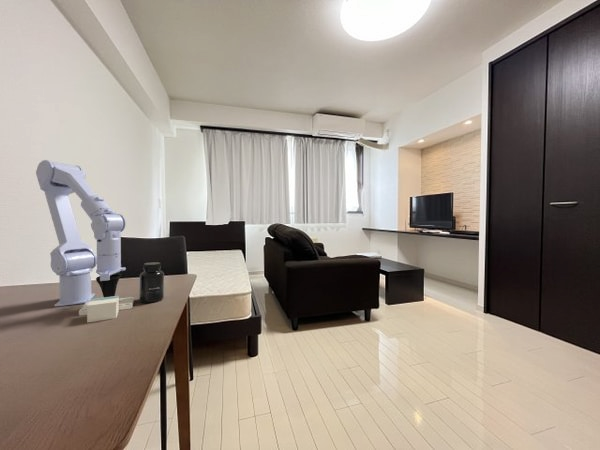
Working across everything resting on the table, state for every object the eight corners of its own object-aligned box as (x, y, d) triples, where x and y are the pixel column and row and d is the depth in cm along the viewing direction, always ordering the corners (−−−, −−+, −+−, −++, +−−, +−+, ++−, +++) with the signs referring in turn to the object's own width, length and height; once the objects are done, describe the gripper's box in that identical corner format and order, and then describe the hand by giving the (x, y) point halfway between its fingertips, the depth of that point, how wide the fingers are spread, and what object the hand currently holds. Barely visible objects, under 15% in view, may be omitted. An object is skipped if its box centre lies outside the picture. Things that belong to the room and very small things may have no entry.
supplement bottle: (152, 304, 78) (152, 265, 78) (134, 302, 79) (133, 264, 79) (168, 297, 85) (168, 262, 84) (151, 296, 86) (151, 261, 86)
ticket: (86, 306, 75) (86, 302, 75) (134, 300, 81) (134, 296, 81) (78, 315, 68) (78, 310, 68) (131, 308, 74) (131, 304, 74)
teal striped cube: (91, 315, 69) (91, 298, 69) (118, 311, 72) (118, 295, 72) (87, 323, 64) (87, 305, 64) (116, 318, 67) (116, 301, 67)
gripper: (122, 256, 71) (122, 304, 71) (127, 250, 83) (128, 291, 84) (90, 258, 67) (90, 308, 68) (100, 251, 80) (101, 294, 80)
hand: (109, 299), depth 76 cm, fingers closed
